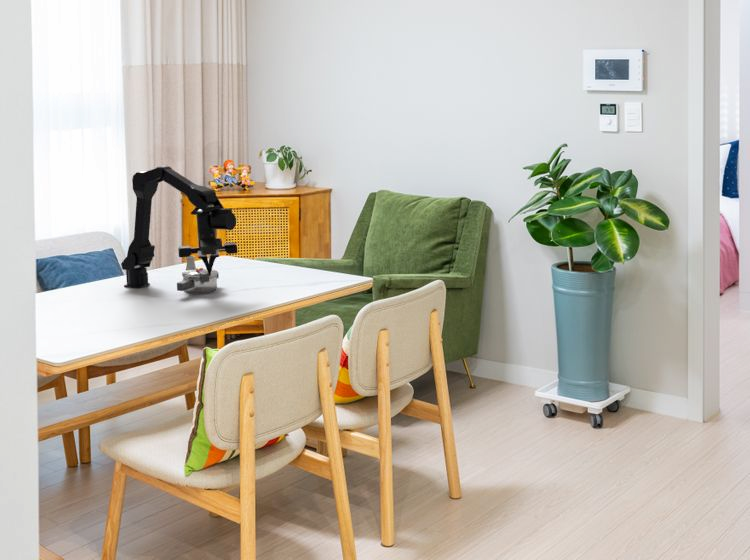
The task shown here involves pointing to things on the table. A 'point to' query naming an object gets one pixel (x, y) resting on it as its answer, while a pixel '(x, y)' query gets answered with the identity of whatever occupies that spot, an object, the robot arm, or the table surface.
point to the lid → (199, 274)
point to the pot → (198, 285)
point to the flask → (190, 263)
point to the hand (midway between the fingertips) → (209, 275)
